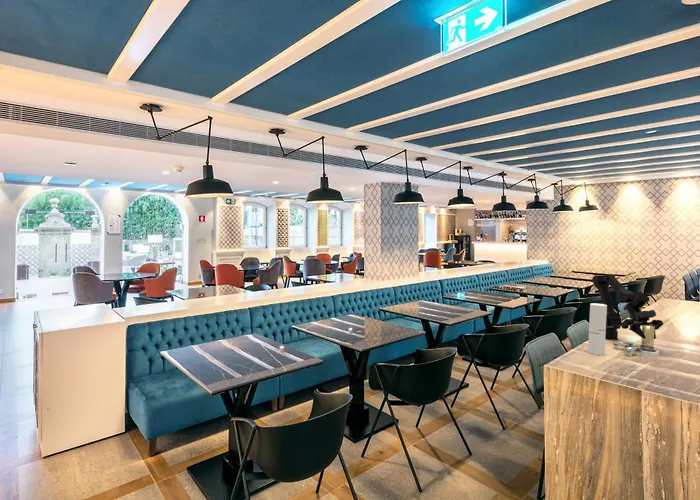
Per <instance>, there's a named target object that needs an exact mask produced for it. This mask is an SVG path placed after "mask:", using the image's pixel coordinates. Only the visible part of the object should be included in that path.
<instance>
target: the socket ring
mask: <svg viewBox="0 0 700 500" xmlns="http://www.w3.org/2000/svg"><path fill="white" fill-rule="evenodd" d="M639 355H641V356H646V357H653V358H655V357H656V358H657V357H659V356H660V351H659V350H657V349H656V348H654V352H647V351H643V350H642V351H641V352H639Z"/></svg>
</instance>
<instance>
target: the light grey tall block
mask: <svg viewBox="0 0 700 500" xmlns="http://www.w3.org/2000/svg"><path fill="white" fill-rule="evenodd" d="M606 314H607V305H604V304H602V303H595V302H594V303H590V304H589V319H588V320H589V325H588V339H587V340H588V343H587V344H588V345H587V353H589V354H590V355H596V356H604V355H605V350H606V339H605V334H606Z"/></svg>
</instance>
